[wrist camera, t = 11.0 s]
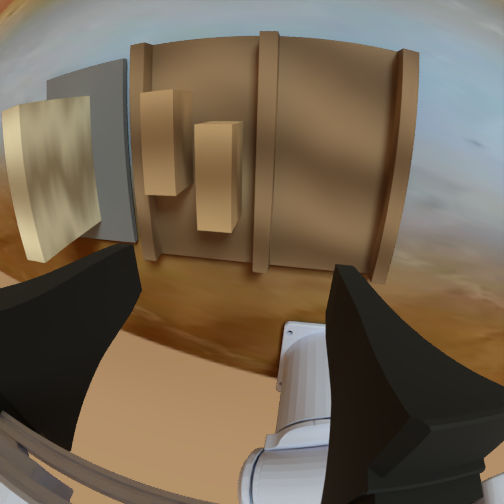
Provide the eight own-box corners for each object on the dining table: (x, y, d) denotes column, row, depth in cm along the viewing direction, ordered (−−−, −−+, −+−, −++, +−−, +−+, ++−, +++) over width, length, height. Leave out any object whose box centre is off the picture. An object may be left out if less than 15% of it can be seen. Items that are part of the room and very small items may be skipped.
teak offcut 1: (193, 182, 19) (175, 196, 16) (165, 181, 19) (145, 194, 17) (192, 91, 16) (172, 89, 14) (163, 93, 16) (140, 93, 14)
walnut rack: (379, 269, 21) (384, 284, 19) (155, 247, 23) (143, 259, 21) (408, 57, 14) (419, 52, 12) (145, 49, 16) (130, 45, 14)
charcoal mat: (138, 239, 23) (135, 242, 22) (67, 233, 24) (63, 235, 23) (126, 59, 16) (123, 58, 16) (50, 80, 17) (46, 80, 17)
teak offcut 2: (241, 214, 20) (231, 233, 17) (211, 212, 20) (197, 230, 17) (243, 121, 17) (231, 124, 14) (210, 121, 17) (194, 124, 14)
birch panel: (101, 220, 22) (44, 262, 16) (83, 219, 22) (27, 259, 16) (89, 95, 17) (18, 104, 11) (71, 100, 17) (1, 111, 11)
